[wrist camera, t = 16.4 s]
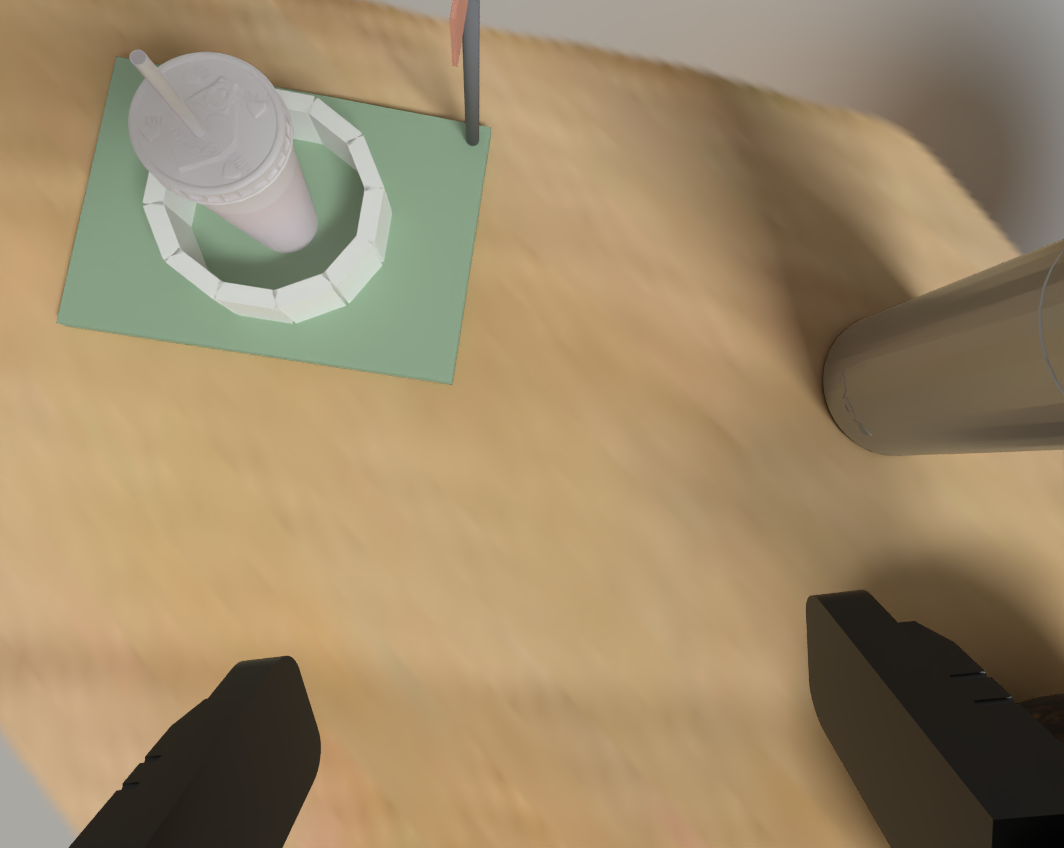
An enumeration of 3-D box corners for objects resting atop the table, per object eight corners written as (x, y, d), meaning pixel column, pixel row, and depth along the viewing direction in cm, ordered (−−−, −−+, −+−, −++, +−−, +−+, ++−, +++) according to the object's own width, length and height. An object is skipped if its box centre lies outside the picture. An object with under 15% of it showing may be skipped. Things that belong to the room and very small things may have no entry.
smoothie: (208, 246, 33) (8, 80, 19) (260, 151, 33) (103, -76, 20) (311, 293, 33) (189, 165, 19) (360, 198, 34) (276, 8, 20)
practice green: (490, 135, 36) (499, -100, 21) (452, 384, 34) (432, 319, 20) (124, 66, 34) (-144, -243, 19) (66, 326, 32) (-274, 205, 18)
